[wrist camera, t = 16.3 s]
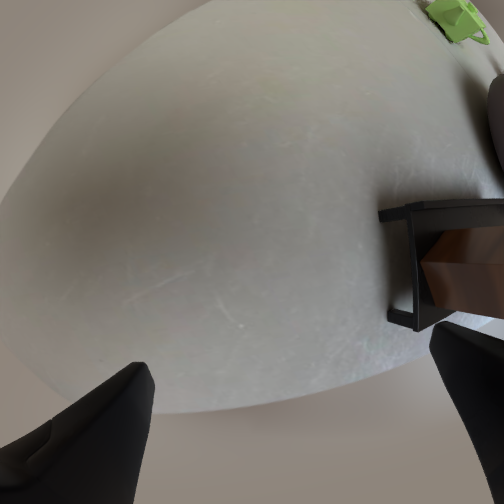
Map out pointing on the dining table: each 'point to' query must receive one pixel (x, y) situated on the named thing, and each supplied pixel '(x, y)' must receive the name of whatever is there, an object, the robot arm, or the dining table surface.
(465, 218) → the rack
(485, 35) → the teapot
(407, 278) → the dining table surface
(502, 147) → the smooth stone
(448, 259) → the walnut block
